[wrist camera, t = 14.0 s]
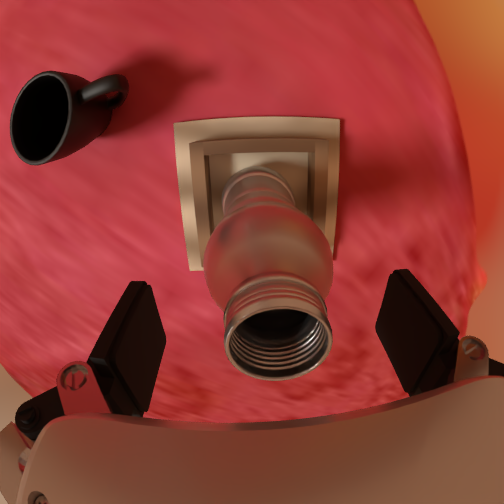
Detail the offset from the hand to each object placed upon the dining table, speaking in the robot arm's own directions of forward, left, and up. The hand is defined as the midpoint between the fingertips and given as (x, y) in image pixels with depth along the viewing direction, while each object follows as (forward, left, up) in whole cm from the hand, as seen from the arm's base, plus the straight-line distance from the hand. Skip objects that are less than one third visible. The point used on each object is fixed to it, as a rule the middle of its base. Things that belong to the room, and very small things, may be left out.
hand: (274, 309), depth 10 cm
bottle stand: (0, 0, -19) cm, 19 cm away
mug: (-11, -16, -19) cm, 27 cm away
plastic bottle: (0, 0, -18) cm, 18 cm away
